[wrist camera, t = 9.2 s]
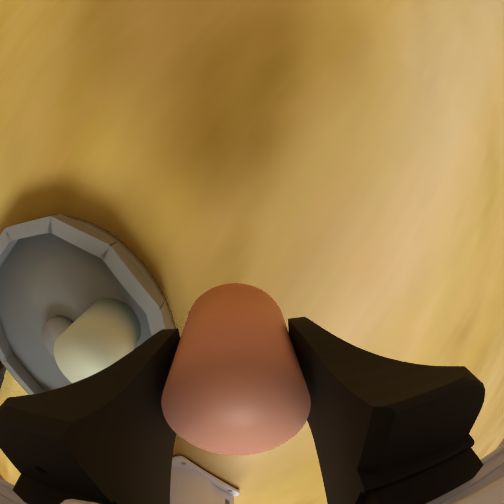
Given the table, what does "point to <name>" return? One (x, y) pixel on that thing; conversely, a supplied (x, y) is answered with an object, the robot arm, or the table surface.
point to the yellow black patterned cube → (2, 372)
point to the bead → (235, 375)
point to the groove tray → (65, 292)
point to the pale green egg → (97, 339)
